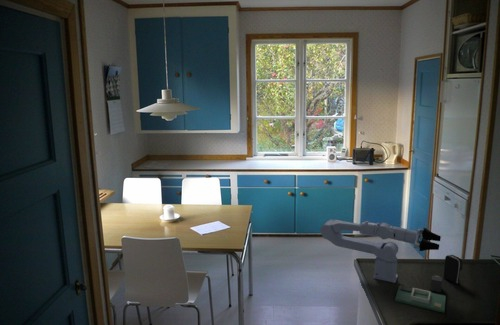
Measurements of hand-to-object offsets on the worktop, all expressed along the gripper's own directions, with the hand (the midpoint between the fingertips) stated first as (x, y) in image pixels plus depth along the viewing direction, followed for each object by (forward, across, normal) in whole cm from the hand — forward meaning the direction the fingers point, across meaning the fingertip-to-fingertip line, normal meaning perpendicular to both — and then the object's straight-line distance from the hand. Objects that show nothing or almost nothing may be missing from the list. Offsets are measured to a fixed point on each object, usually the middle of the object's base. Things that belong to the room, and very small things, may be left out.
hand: (439, 242), depth 166 cm
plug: (+1, -4, +20) cm, 21 cm away
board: (-4, -16, +19) cm, 25 cm away
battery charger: (+7, +8, +22) cm, 24 cm away
